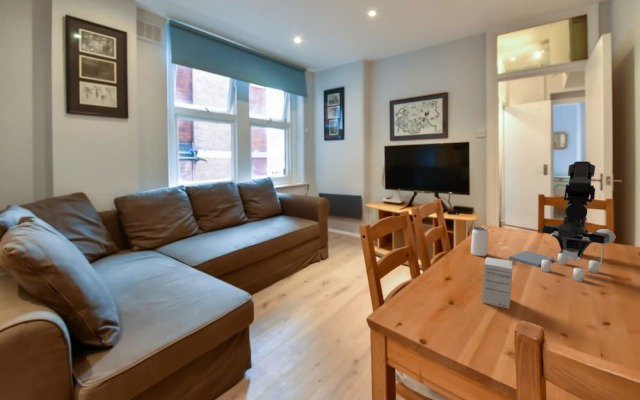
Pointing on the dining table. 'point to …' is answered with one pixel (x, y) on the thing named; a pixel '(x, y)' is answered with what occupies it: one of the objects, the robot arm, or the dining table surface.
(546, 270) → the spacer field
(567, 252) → the grey faceted polyhedron
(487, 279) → the supplement box
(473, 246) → the can
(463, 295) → the dining table surface
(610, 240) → the lollipop
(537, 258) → the board
